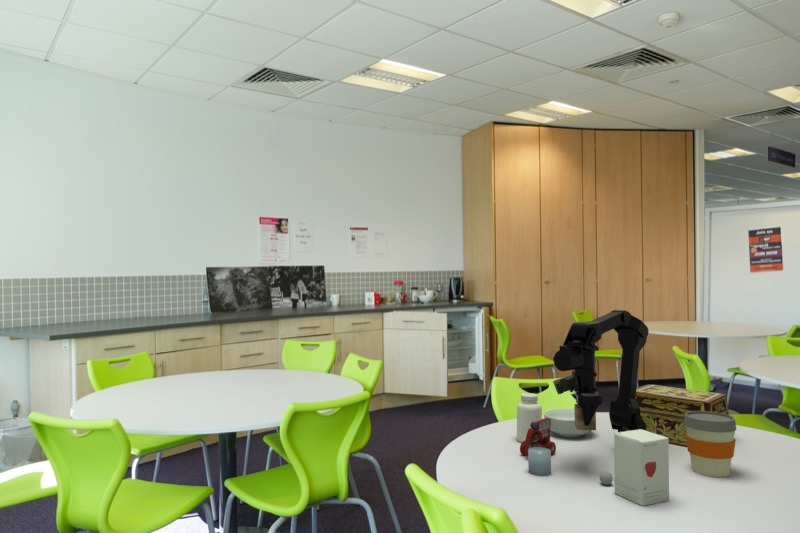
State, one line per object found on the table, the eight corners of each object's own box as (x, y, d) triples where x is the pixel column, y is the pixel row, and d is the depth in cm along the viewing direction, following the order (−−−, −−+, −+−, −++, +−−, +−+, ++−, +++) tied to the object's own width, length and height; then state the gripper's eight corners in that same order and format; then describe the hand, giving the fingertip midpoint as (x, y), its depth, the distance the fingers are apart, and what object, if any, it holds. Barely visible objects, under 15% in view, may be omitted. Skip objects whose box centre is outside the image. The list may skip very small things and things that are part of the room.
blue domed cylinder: (551, 469, 156) (551, 448, 156) (550, 477, 150) (549, 454, 150) (529, 467, 158) (529, 446, 158) (527, 474, 152) (527, 452, 152)
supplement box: (642, 507, 130) (641, 442, 130) (613, 493, 138) (612, 432, 139) (670, 500, 134) (669, 437, 134) (641, 487, 142) (640, 428, 142)
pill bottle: (542, 445, 178) (542, 397, 179) (516, 443, 180) (516, 396, 180) (541, 438, 186) (541, 392, 186) (516, 436, 188) (516, 391, 188)
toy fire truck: (515, 457, 167) (515, 421, 167) (539, 448, 175) (538, 414, 176) (536, 462, 162) (535, 426, 162) (559, 453, 170) (558, 418, 170)
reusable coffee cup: (731, 466, 157) (730, 412, 157) (742, 481, 145) (741, 423, 146) (681, 461, 161) (680, 409, 162) (688, 476, 149) (687, 419, 150)
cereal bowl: (554, 425, 202) (554, 405, 202) (602, 432, 192) (601, 411, 193) (536, 436, 188) (536, 415, 189) (586, 444, 179) (586, 422, 179)
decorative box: (623, 435, 189) (623, 390, 190) (646, 424, 202) (646, 383, 202) (713, 453, 169) (712, 403, 170) (732, 440, 182) (731, 394, 183)
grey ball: (612, 482, 145) (612, 470, 145) (612, 487, 142) (612, 474, 142) (599, 481, 146) (599, 469, 146) (599, 485, 143) (599, 473, 143)
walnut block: (592, 425, 160) (592, 404, 160) (596, 430, 155) (595, 408, 155) (574, 425, 161) (574, 404, 161) (577, 429, 156) (576, 408, 156)
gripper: (551, 362, 169) (552, 414, 169) (558, 372, 151) (559, 431, 150) (590, 362, 167) (590, 415, 167) (602, 373, 149) (603, 432, 148)
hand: (585, 423), depth 158 cm, fingers closed on walnut block, 5 cm apart
